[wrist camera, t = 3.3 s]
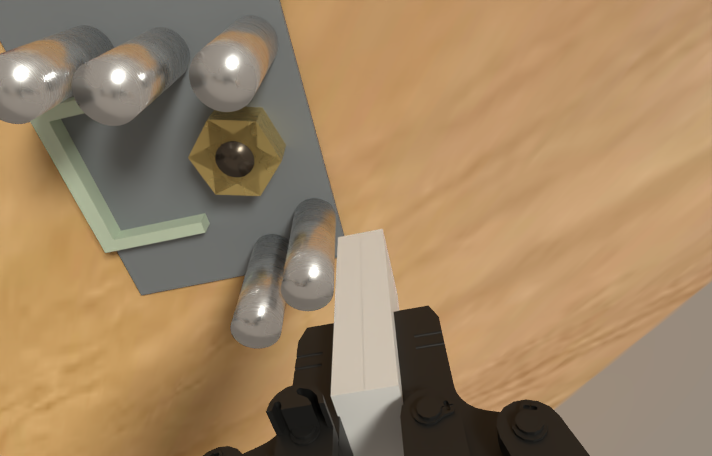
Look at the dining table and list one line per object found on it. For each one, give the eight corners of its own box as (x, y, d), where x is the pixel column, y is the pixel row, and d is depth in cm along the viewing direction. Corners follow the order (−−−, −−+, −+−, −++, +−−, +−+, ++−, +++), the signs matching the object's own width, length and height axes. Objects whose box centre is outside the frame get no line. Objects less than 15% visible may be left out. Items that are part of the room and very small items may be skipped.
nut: (236, 193, 33) (228, 212, 31) (185, 123, 30) (173, 138, 28) (297, 162, 32) (293, 180, 30) (250, 87, 29) (242, 100, 27)
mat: (143, 291, 37) (141, 295, 37) (-16, 3, 27) (-20, 4, 27) (348, 252, 36) (348, 255, 35) (260, -69, 26) (259, -69, 25)
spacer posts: (180, 286, 36) (142, 369, 30) (54, 31, 28) (-44, 66, 21) (346, 254, 35) (347, 333, 28) (270, -23, 26) (243, -6, 19)
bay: (112, 243, 35) (105, 252, 33) (36, 105, 30) (24, 112, 29) (209, 223, 34) (205, 232, 33) (148, 79, 29) (140, 84, 28)
